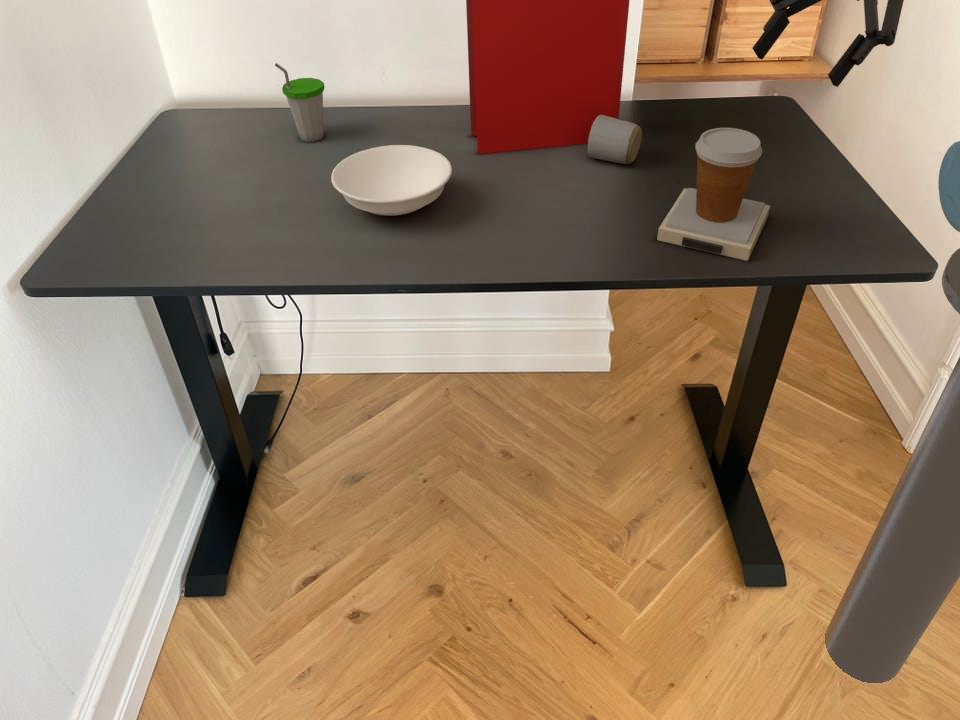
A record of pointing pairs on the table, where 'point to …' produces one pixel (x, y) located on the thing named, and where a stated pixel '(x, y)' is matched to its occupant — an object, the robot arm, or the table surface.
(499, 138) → the book
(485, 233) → the table surface
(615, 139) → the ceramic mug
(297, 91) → the cup
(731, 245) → the scale
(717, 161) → the disposable coffee cup
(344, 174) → the bowl
